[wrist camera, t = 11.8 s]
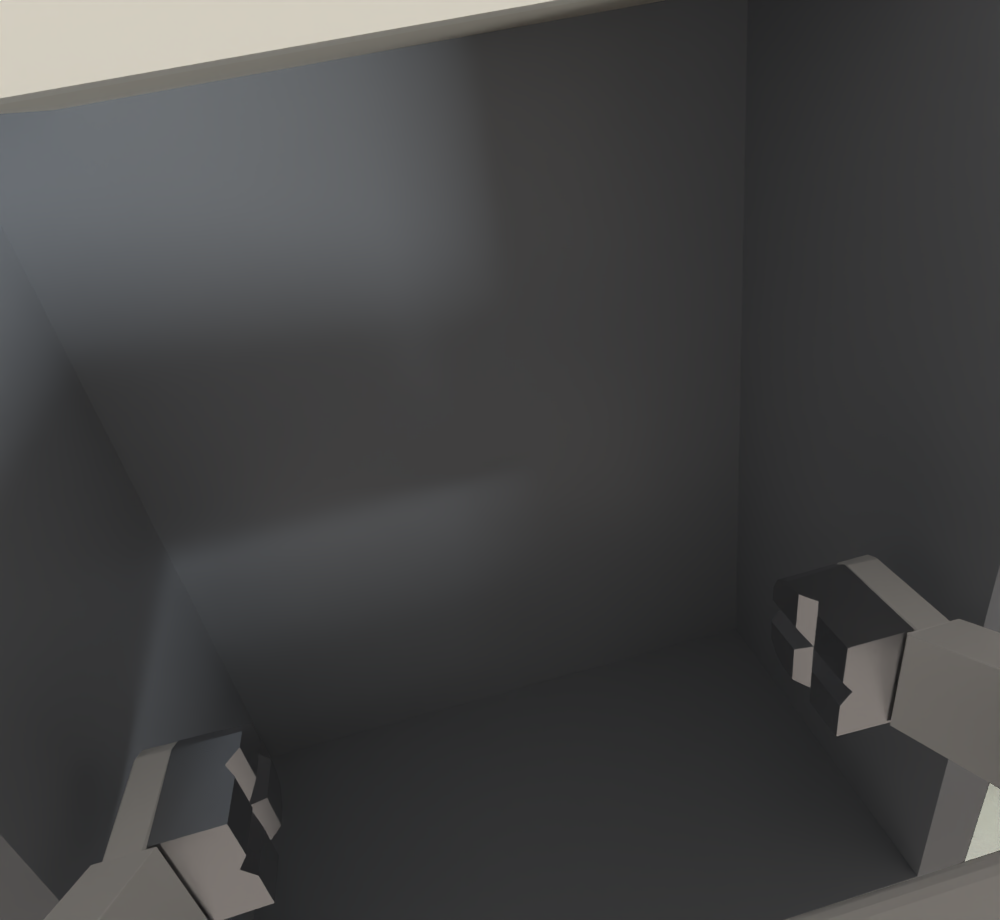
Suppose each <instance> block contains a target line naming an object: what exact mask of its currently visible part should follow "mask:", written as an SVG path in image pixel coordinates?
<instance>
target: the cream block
mask: <svg viewBox="0 0 1000 920" xmlns="http://www.w3.org/2000/svg"><path fill="white" fill-rule="evenodd" d="M659 1H665V0H0V114H5V113H20V112H34V111H49V110H57V109H63V108H68V107H74V106H80V105H85V104H91V103H96V102H102V101H107V100H113V99H119V98H124V97H130V96H135V95H141V94H146V93H152V92H158V91H163V90H169V89H174V88H180V87H185V86H191V85H197V84H202V83H208V82H213V81H219V80H224V79H230V78H236V77H241V76H247V75H252V74H258V73H263V72H269V71H275V70H280V69H286V68H291V67H297V66H302V65H308V64H314V63H319V62H325V61H330V60H336V59H341V58H347V57H353V56H358V55H364V54H369V53H375V52H380V51H386V50H392V49H397V48H403V47H408V46H414V45H419V44H425V43H431V42H436V41H442V40H447V39H453V38H458V37H464V36H470V35H475V34H481V33H486V32H492V31H497V30H503V29H509V28H514V27H520V26H525V25H531V24H536V23H542V22H548V21H553V20H559V19H564V18H570V17H576V16H581V15H587V14H592V13H598V12H603V11H609V10H615V9H620V8H626V7H631V6H637V5H642V4H648V3H654V2H659Z"/></svg>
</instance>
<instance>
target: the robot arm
mask: <svg viewBox="0 0 1000 920" xmlns="http://www.w3.org/2000/svg"><path fill="white" fill-rule="evenodd" d="M773 601H774V602H775V603H776V604H777V606H778V607H779V608H780V610H779V611H778V612H777V614H776V615H775V617H774V618H773V619H772V621H771V638H772V641H773V645H774V648H775V652H776V655H777V657H778V658H779V660H780V662H781V664H782V666H783V668H784V669H785V670H786V672H787V673H788V674H789V676H790V677H791V678H792V679H793V680H795V681H797V682H799V683H801V684H803V685H806V686H808V687H810V697H809V702H810V703H811V705H812V706H813V707H814V708H815V710H816V711H817V712H818V714H819V715H820V716H821V717H822V719H823V720H824V721H825V723H826V724H827V725H828V726H829V728H830V729H831V730H832V732H833V733H834V734H835V735H836V736H840V735H844V734H847V733H851V732H855V731H859V730H863V729H866V728H870V727H874V726H878V725H881V724H885V723H889V722H890V726H892V727H894V728H896V729H897V730H899V731H901V732H903V733H904V734H906V735H908V736H909V737H911V738H913V739H915V740H916V741H918V742H920V743H922V744H923V745H925V746H927V747H928V748H930V749H932V750H934V751H935V752H937V753H939V754H941V755H942V756H944V757H946V758H948V759H949V760H951V761H953V762H954V763H956V764H958V765H960V766H961V767H963V768H965V769H967V770H968V771H970V772H972V773H973V774H975V775H977V776H979V777H980V778H982V779H984V780H986V781H987V782H989V783H991V784H993V785H994V786H996V787H998V788H999V789H1000V633H999V632H996V631H993V630H990V629H987V628H985V627H982V626H979V625H976V624H973V623H970V622H967V621H964V620H961V619H956V620H952V621H949V620H948V619H947V618H946V617H944V616H943V615H942V614H941V613H940V612H939V611H938V610H936V609H935V608H934V607H933V606H932V605H931V604H929V603H928V602H927V601H926V600H925V599H924V598H922V597H921V596H920V595H919V594H918V593H917V592H916V591H914V590H913V589H912V588H911V587H910V586H909V585H907V584H906V583H905V582H904V581H903V580H902V579H900V578H899V577H898V576H897V575H896V574H895V573H893V572H892V571H891V570H890V569H889V568H888V567H887V566H885V565H884V564H883V563H882V562H881V561H880V560H878V559H877V558H876V557H873V556H870V555H868V554H867V555H864V556H860V557H857V558H853V559H850V560H846V561H842V562H839V563H837V564H832V565H828V566H825V567H821V568H817V569H814V570H810V571H807V572H803V573H800V574H796V575H793V576H789V577H785V578H782V579H778V580H777V581H776V583H775V585H774V587H773ZM260 743H261V739H260V737H259V735H258V733H257V731H256V730H255V728H254V726H253V724H244V725H240V726H236V727H232V728H228V729H224V730H219V731H215V732H211V733H207V734H203V735H199V736H195V737H191V738H187V739H183V740H179V741H177V742H173V743H169V744H165V745H161V746H157V747H153V748H149V749H145V750H142V751H141V752H140V754H139V755H138V756H137V757H136V759H135V760H134V762H133V766H132V769H131V772H130V775H129V778H128V781H127V785H126V788H125V791H124V794H123V797H122V800H121V804H120V807H119V810H118V813H117V816H116V819H115V823H114V826H113V829H112V832H111V835H110V838H109V842H108V845H107V848H106V851H105V854H104V858H103V861H102V862H100V863H96V864H93V865H91V866H90V867H89V868H88V869H87V870H86V871H85V872H84V874H83V875H82V876H81V877H80V878H79V879H78V881H77V882H76V883H75V884H74V885H73V886H72V887H71V889H70V890H69V891H68V892H67V893H66V894H65V895H64V897H63V898H62V899H61V900H60V901H59V902H58V904H57V905H56V906H55V907H54V908H53V909H52V910H51V912H50V913H49V914H48V915H47V916H46V917H45V919H44V920H224V919H227V918H230V917H233V916H236V915H239V914H242V913H246V912H249V911H252V910H255V909H258V908H261V907H264V906H267V905H270V904H273V903H275V893H276V882H277V871H278V860H279V855H278V853H277V851H276V849H275V847H274V845H273V844H272V842H271V840H272V838H273V837H274V835H275V834H276V832H277V831H278V829H279V828H280V827H281V823H282V808H283V805H282V794H281V785H280V781H279V778H278V774H277V771H276V768H275V766H274V764H273V762H272V760H271V759H270V758H267V757H265V756H263V755H261V754H259V751H260ZM785 920H1000V851H997V852H993V853H990V854H987V855H984V856H981V857H978V858H975V859H972V860H969V861H966V862H962V863H959V864H956V865H953V866H950V867H947V868H944V869H941V870H938V871H935V872H932V873H928V874H925V875H922V876H919V877H916V878H913V879H910V880H907V881H904V882H900V883H897V884H894V885H891V886H888V887H885V888H882V889H879V890H875V891H872V892H869V893H866V894H863V895H860V896H857V897H854V898H851V899H847V900H844V901H841V902H838V903H835V904H832V905H829V906H826V907H823V908H819V909H816V910H813V911H810V912H807V913H804V914H801V915H798V916H794V917H791V918H788V919H785Z"/></svg>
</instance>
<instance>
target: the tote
mask: <svg viewBox="0 0 1000 920" xmlns="http://www.w3.org/2000/svg"><path fill="white" fill-rule="evenodd" d="M867 554H868V555H870V556H873V557H876V558H877V559H878V560H880V561H881V562H882V563H883V564H884V565H885V566H887V567H888V568H889V569H890V570H891V571H892V572H893V573H895V574H896V575H897V576H898V577H899V578H900V579H902V580H903V581H904V582H905V583H906V584H907V585H909V586H910V587H911V588H912V589H913V590H914V591H916V592H917V593H918V594H919V595H920V596H921V597H922V598H924V599H925V600H926V601H927V602H928V603H929V604H931V605H932V606H933V607H934V608H935V609H936V610H938V611H939V612H940V613H941V614H942V615H943V616H944V617H946V618H947V619H948V620H949V621H952V620H956V619H961V620H964V621H967V622H970V623H973V624H976V625H979V626H982V627H985V628H987V629H990V630H993V631H996V632H999V633H1000V0H665V1H659V2H654V3H648V4H642V5H637V6H631V7H626V8H620V9H615V10H609V11H603V12H598V13H592V14H587V15H581V16H576V17H570V18H564V19H559V20H553V21H548V22H542V23H536V24H531V25H525V26H520V27H514V28H509V29H503V30H497V31H492V32H486V33H481V34H475V35H470V36H464V37H458V38H453V39H447V40H442V41H436V42H431V43H425V44H419V45H414V46H408V47H403V48H397V49H392V50H386V51H380V52H375V53H369V54H364V55H358V56H353V57H347V58H341V59H336V60H330V61H325V62H319V63H314V64H308V65H302V66H297V67H291V68H286V69H280V70H275V71H269V72H263V73H258V74H252V75H247V76H241V77H236V78H230V79H224V80H219V81H213V82H208V83H202V84H197V85H191V86H185V87H180V88H174V89H169V90H163V91H158V92H152V93H146V94H141V95H135V96H130V97H124V98H119V99H113V100H107V101H102V102H96V103H91V104H85V105H80V106H74V107H68V108H63V109H57V110H49V111H34V112H20V113H5V114H0V920H44V919H45V917H46V916H47V915H48V914H49V913H50V912H51V910H52V909H53V908H54V907H55V906H56V905H57V904H58V902H59V901H60V900H61V899H62V898H63V897H64V895H65V894H66V893H67V892H68V891H69V890H70V889H71V887H72V886H73V885H74V884H75V883H76V882H77V881H78V879H79V878H80V877H81V876H82V875H83V874H84V872H85V871H86V870H87V869H88V868H89V867H90V866H91V865H93V864H96V863H100V862H102V861H103V858H104V854H105V851H106V848H107V845H108V842H109V838H110V835H111V832H112V829H113V826H114V823H115V819H116V816H117V813H118V810H119V807H120V804H121V800H122V797H123V794H124V791H125V788H126V785H127V781H128V778H129V775H130V772H131V769H132V766H133V762H134V760H135V759H136V757H137V756H138V755H139V754H140V752H141V751H142V750H145V749H149V748H153V747H157V746H161V745H165V744H169V743H173V742H177V741H179V740H183V739H187V738H191V737H195V736H199V735H203V734H207V733H211V732H215V731H219V730H224V729H228V728H232V727H236V726H240V725H244V724H253V726H254V728H255V730H256V731H257V733H258V735H259V737H260V739H261V743H260V751H259V754H261V755H263V756H265V757H267V758H270V759H271V760H272V762H273V764H274V766H275V768H276V771H277V774H278V778H279V781H280V785H281V794H282V805H283V808H282V823H281V827H280V828H279V829H278V831H277V832H276V834H275V835H274V837H273V838H272V840H271V842H272V844H273V845H274V847H275V849H276V851H277V853H278V855H279V860H278V871H277V882H276V893H275V903H273V904H270V905H267V906H264V907H261V908H258V909H255V910H252V911H249V912H246V913H242V914H239V915H236V916H233V917H230V918H227V919H224V920H785V919H788V918H791V917H794V916H798V915H801V914H804V913H807V912H810V911H813V910H816V909H819V908H823V907H826V906H829V905H832V904H835V903H838V902H841V901H844V900H847V899H851V898H854V897H857V896H860V895H863V894H866V893H869V892H872V891H875V890H879V889H882V888H885V887H888V886H891V885H894V884H897V883H900V882H904V881H907V880H910V879H913V878H916V877H919V876H922V875H925V874H928V873H932V872H935V871H938V870H941V869H944V868H947V867H950V866H953V865H956V864H959V863H962V862H965V858H966V855H967V852H968V849H969V846H970V843H971V840H972V837H973V833H974V830H975V827H976V824H977V821H978V818H979V815H980V811H981V808H982V805H983V802H984V799H985V796H986V793H987V790H988V786H989V782H987V781H986V780H984V779H982V778H980V777H979V776H977V775H975V774H973V773H972V772H970V771H968V770H967V769H965V768H963V767H961V766H960V765H958V764H956V763H954V762H953V761H951V760H949V759H948V758H946V757H944V756H942V755H941V754H939V753H937V752H935V751H934V750H932V749H930V748H928V747H927V746H925V745H923V744H922V743H920V742H918V741H916V740H915V739H913V738H911V737H909V736H908V735H906V734H904V733H903V732H901V731H899V730H897V729H896V728H894V727H892V726H890V722H889V723H885V724H881V725H878V726H874V727H870V728H866V729H863V730H859V731H855V732H851V733H847V734H844V735H840V736H836V735H835V734H834V733H833V732H832V730H831V729H830V728H829V726H828V725H827V724H826V723H825V721H824V720H823V719H822V717H821V716H820V715H819V714H818V712H817V711H816V710H815V708H814V707H813V706H812V705H811V703H810V702H809V697H810V687H808V686H806V685H803V684H801V683H799V682H797V681H795V680H793V679H792V678H791V677H790V676H789V674H788V673H787V672H786V670H785V669H784V668H783V666H782V664H781V662H780V660H779V658H778V657H777V655H776V652H775V648H774V645H773V641H772V638H771V621H772V619H773V618H774V617H775V615H776V614H777V612H778V611H779V610H780V608H779V607H778V606H777V604H776V603H775V602H774V601H773V587H774V585H775V583H776V581H777V580H778V579H782V578H785V577H789V576H793V575H796V574H800V573H803V572H807V571H810V570H814V569H817V568H821V567H825V566H828V565H832V564H837V563H839V562H842V561H846V560H850V559H853V558H857V557H860V556H864V555H867Z"/></svg>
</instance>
